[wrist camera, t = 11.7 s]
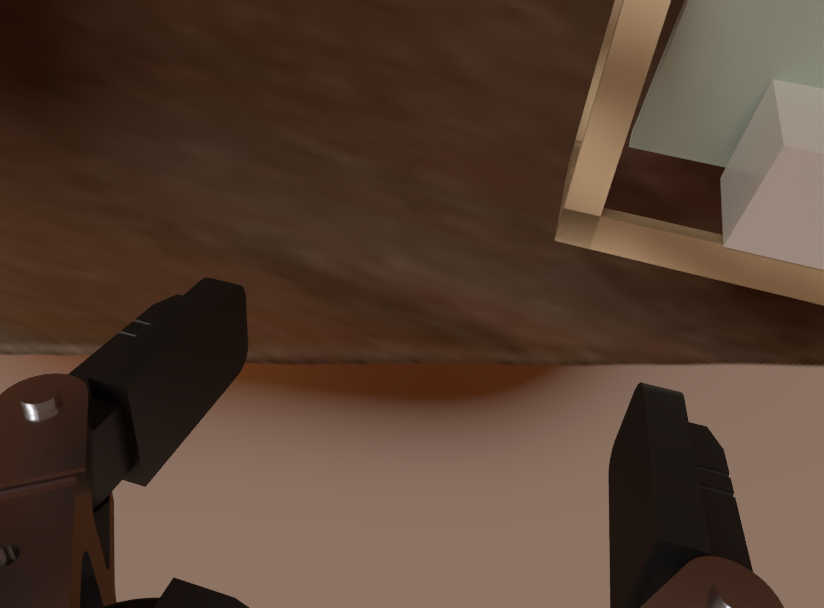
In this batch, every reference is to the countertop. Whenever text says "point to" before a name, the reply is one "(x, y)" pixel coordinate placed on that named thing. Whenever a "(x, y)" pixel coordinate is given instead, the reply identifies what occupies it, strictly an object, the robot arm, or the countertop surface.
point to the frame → (597, 160)
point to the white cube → (779, 179)
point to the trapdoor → (726, 73)
